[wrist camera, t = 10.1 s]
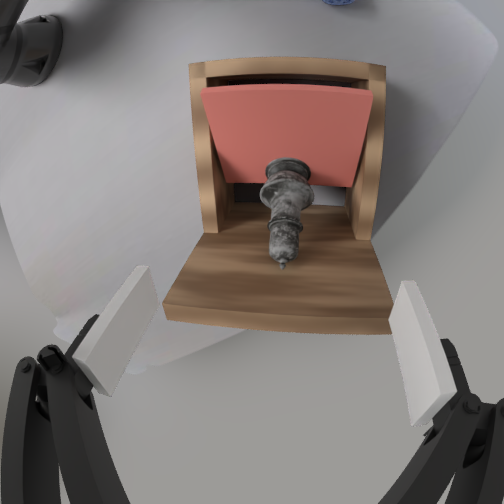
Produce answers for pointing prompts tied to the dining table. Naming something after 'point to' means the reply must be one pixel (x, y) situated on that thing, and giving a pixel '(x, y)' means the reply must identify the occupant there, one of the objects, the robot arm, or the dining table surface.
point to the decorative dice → (338, 2)
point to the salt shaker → (286, 205)
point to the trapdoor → (288, 129)
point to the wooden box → (258, 235)
